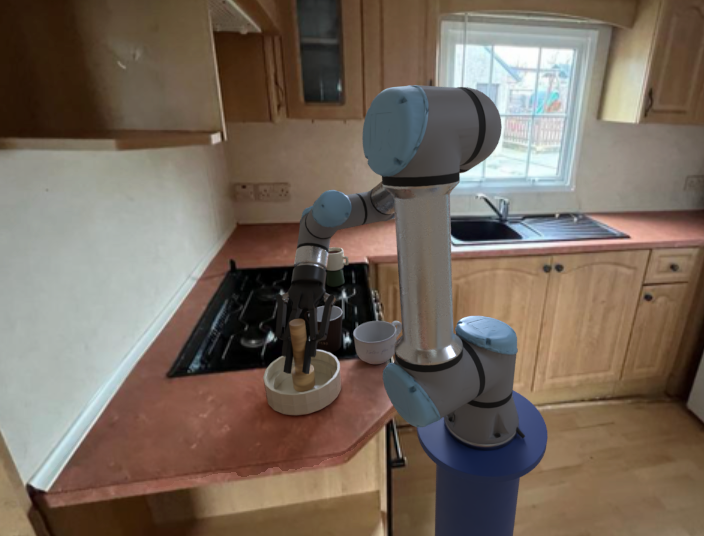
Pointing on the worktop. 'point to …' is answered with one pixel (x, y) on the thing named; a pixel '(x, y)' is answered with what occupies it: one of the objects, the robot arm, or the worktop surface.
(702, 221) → the worktop surface
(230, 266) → the worktop surface
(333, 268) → the character mug
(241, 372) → the worktop surface
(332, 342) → the coffee mug
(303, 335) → the wooden masher
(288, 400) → the mixing bowl
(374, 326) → the teacup
